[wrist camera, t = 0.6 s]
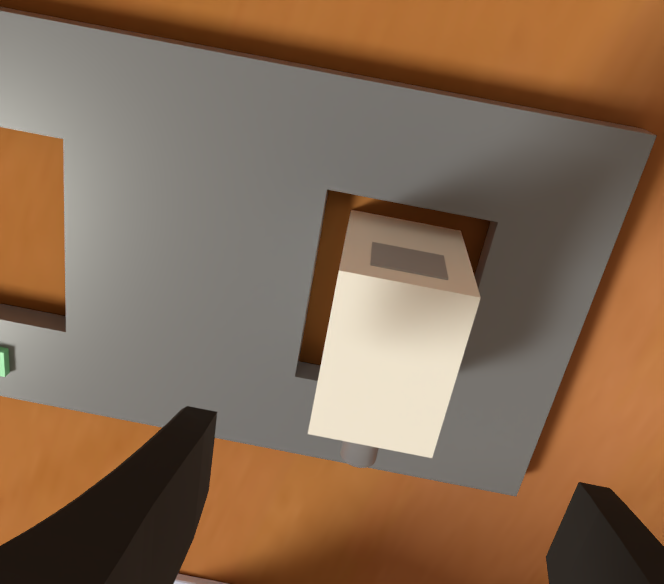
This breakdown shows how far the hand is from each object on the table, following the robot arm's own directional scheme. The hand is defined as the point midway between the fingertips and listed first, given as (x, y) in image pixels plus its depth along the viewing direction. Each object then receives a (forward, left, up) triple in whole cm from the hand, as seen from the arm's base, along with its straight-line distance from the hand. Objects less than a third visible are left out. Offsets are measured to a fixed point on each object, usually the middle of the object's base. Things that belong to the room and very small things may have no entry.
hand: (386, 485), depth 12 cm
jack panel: (0, +6, -9) cm, 11 cm away
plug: (0, 0, -9) cm, 9 cm away
